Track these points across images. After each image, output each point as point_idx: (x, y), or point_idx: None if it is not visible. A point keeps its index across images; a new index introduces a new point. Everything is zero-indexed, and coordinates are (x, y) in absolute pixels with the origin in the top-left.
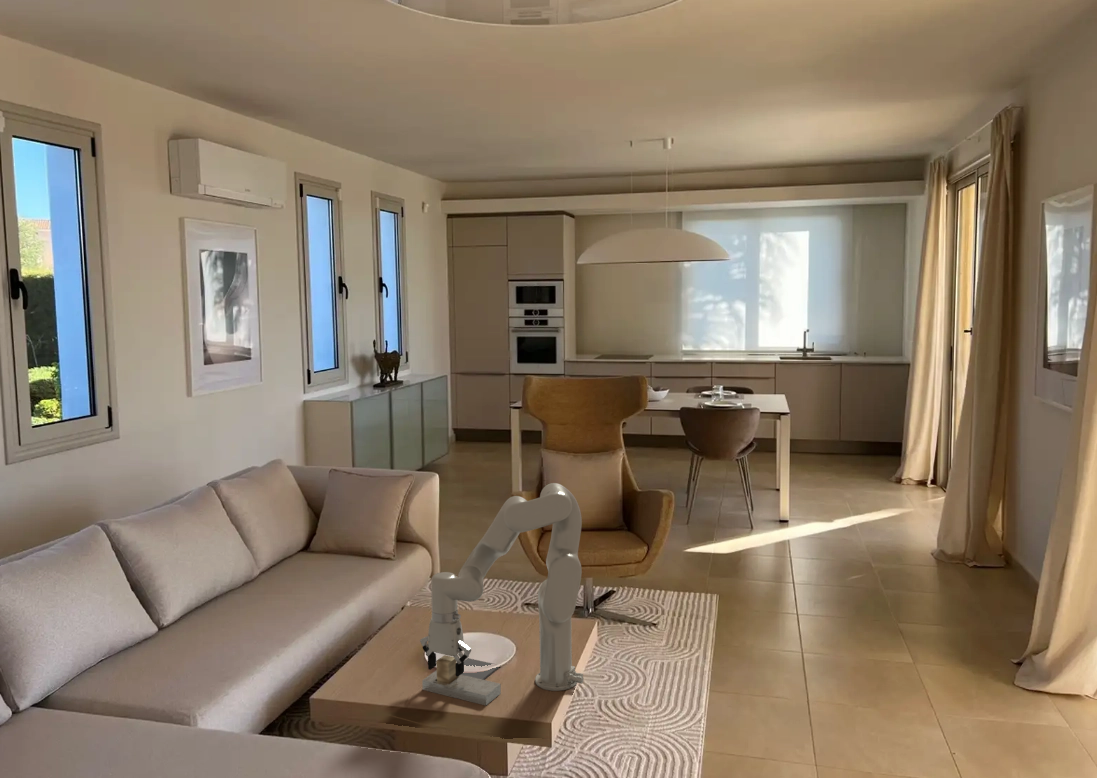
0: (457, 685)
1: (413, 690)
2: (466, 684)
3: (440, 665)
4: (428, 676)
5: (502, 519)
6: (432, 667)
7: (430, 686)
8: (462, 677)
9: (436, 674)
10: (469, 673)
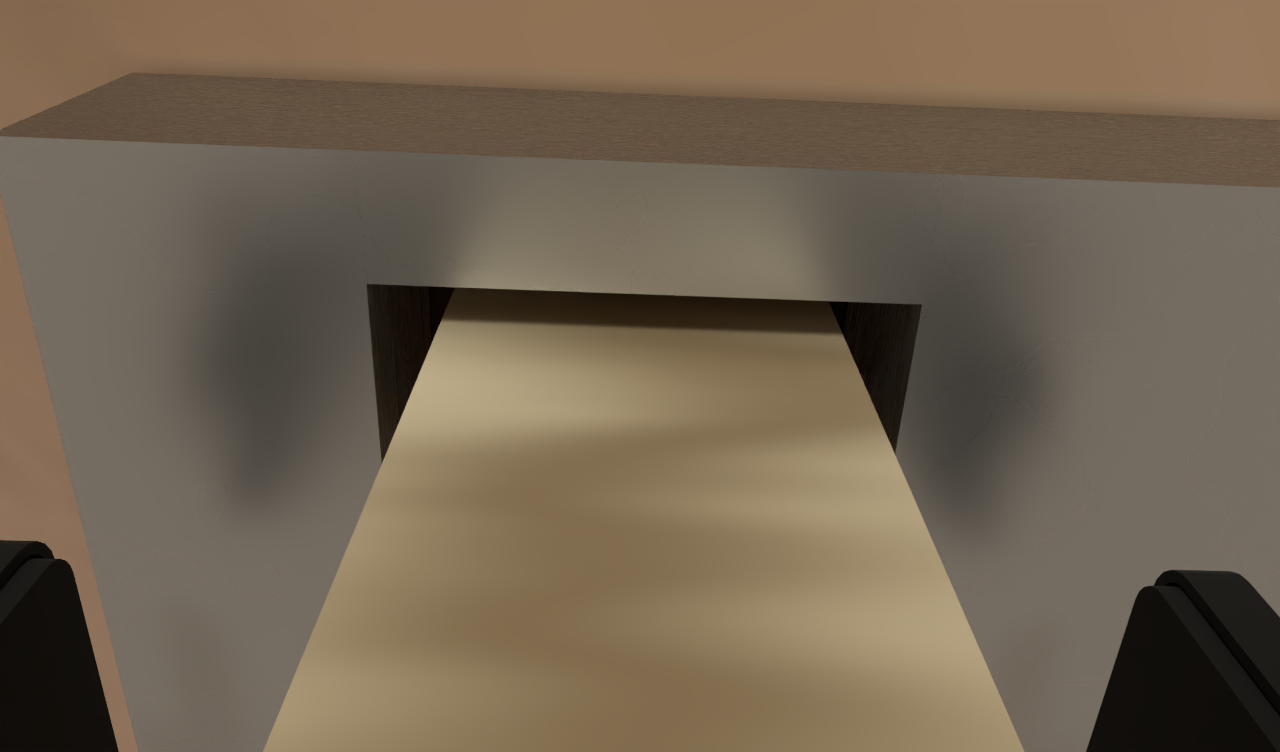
0: (1066, 703)
1: None
2: (1273, 593)
3: None
4: (123, 599)
5: None
6: (93, 743)
7: None
8: (1026, 319)
9: (221, 444)
10: None
